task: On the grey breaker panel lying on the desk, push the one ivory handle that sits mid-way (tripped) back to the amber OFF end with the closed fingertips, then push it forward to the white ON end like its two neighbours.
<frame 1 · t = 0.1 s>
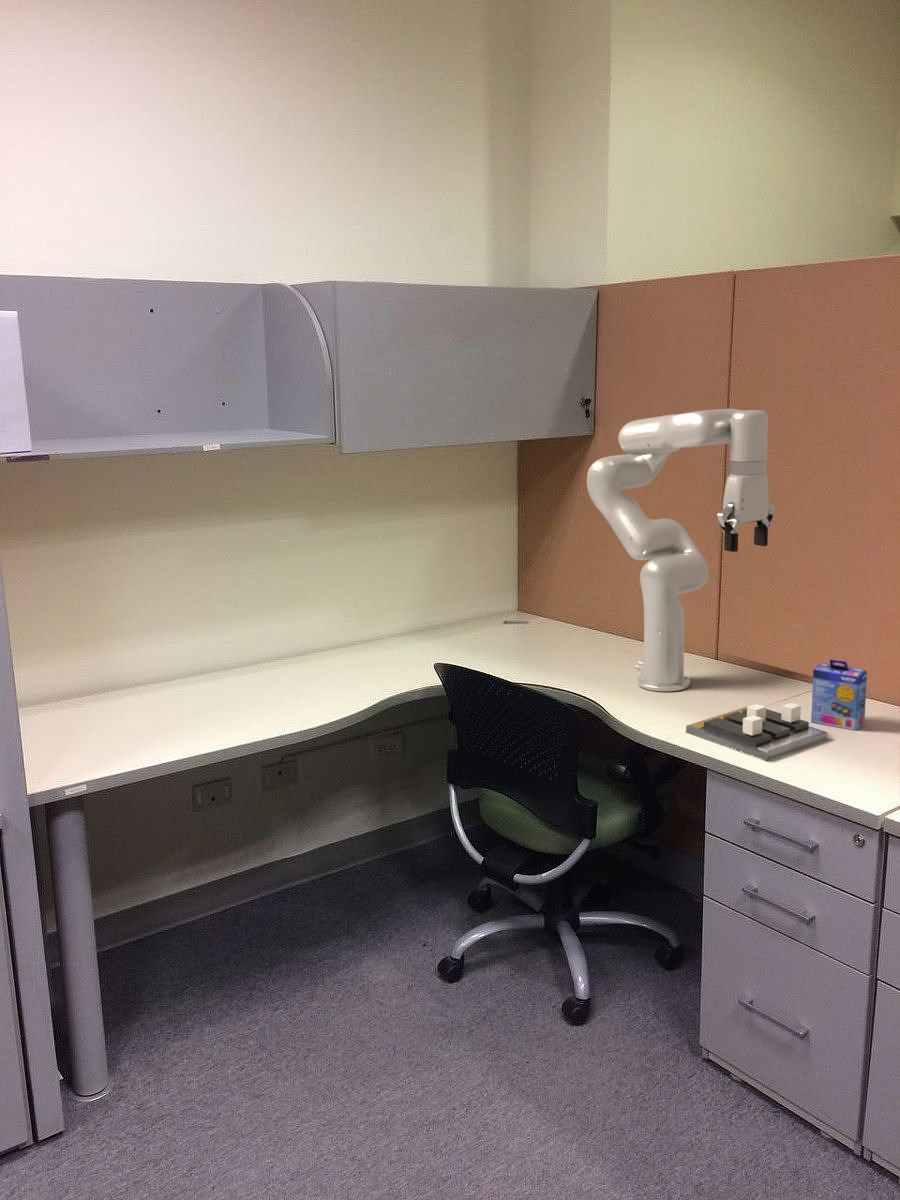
hand: (745, 548, 219), 37 cm above the table, tool pointing down, fingers open, 9 cm apart
ink cartridge box: (837, 724, 216), on the table
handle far: (791, 712, 209), point 5 cm above the table, slide at 4.0 cm
tripped handle: (756, 713, 209), point 5 cm above the table, slide at 0.0 cm
panel: (755, 735, 211), on the table
handle near: (752, 725, 203), point 5 cm above the table, slide at 4.0 cm
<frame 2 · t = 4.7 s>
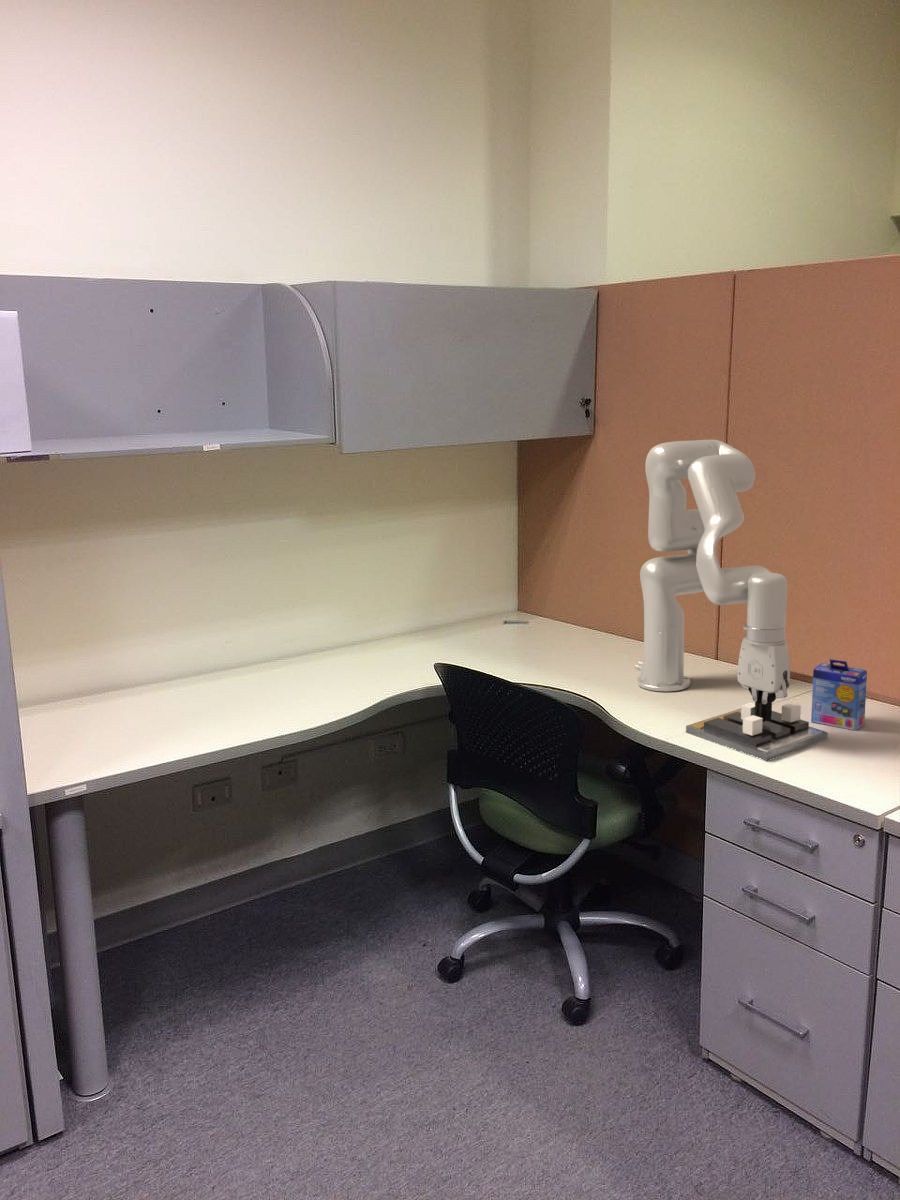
hand: (763, 719, 208), 4 cm above the table, tool pointing down, fingers closed
tripped handle: (750, 712, 211), point 5 cm above the table, slide at -1.5 cm, touching gripper
everything else where it was.
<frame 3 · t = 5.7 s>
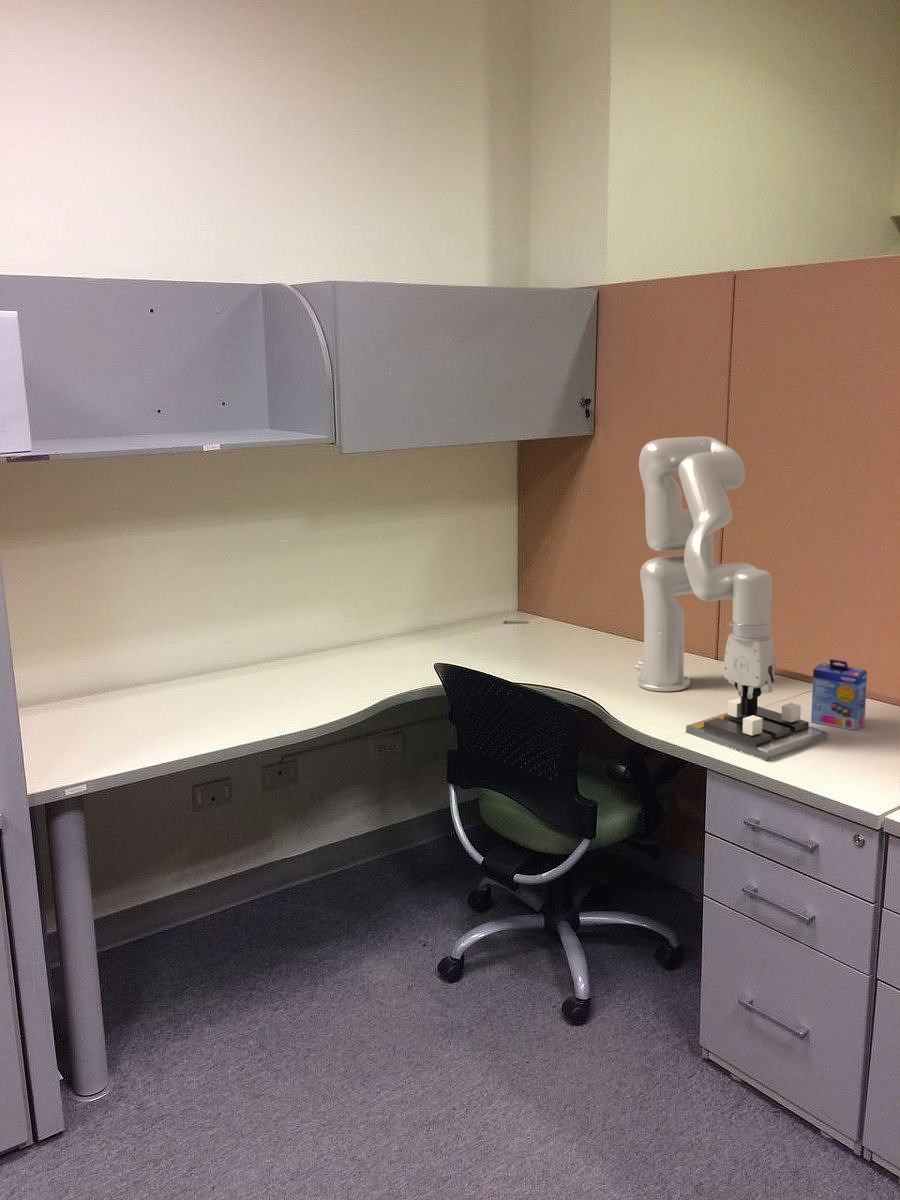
hand: (748, 714, 211), 4 cm above the table, tool pointing down, fingers closed
tripped handle: (737, 707, 214), point 5 cm above the table, slide at -5.0 cm, touching gripper
everything else where it was.
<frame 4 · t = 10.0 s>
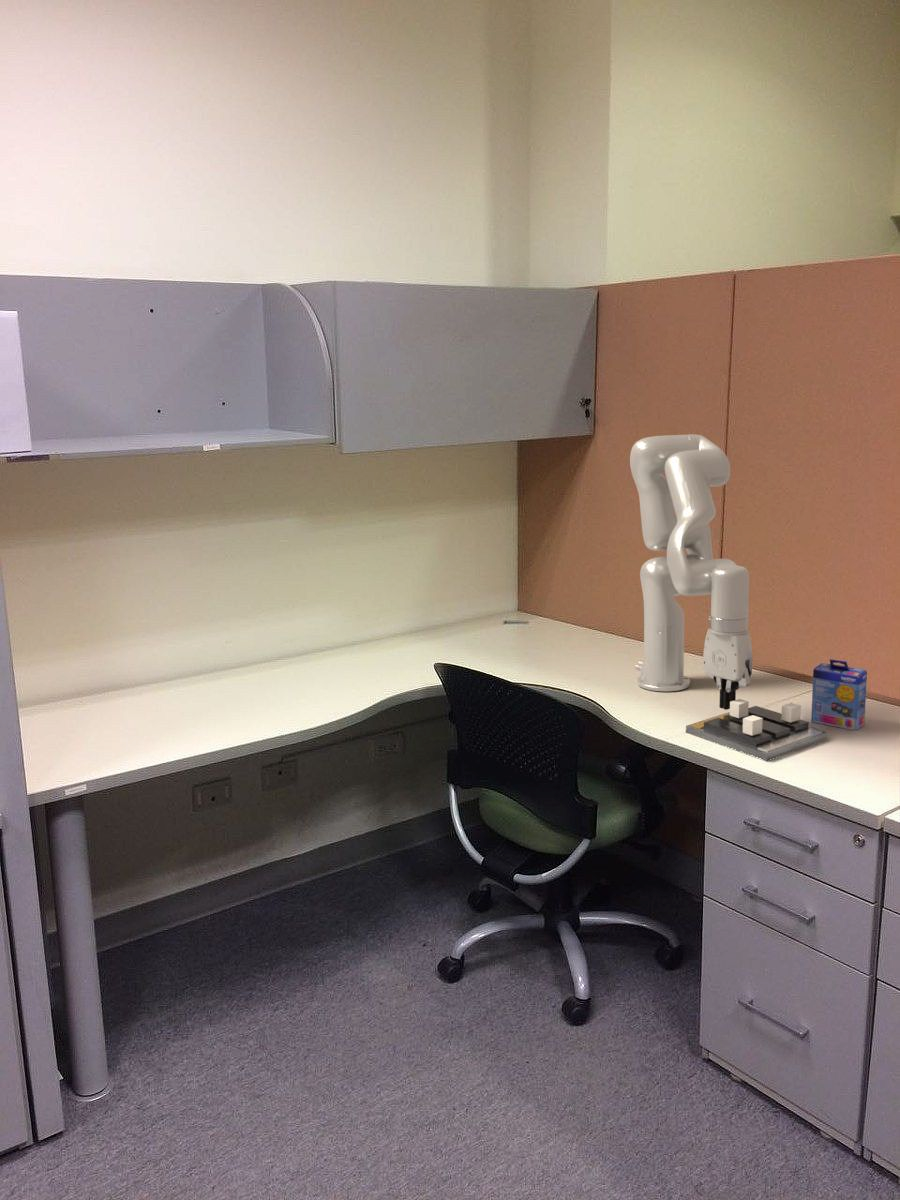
hand: (727, 707, 216), 4 cm above the table, tool pointing down, fingers closed
tripped handle: (739, 708, 213), point 5 cm above the table, slide at -4.5 cm, touching gripper
everything else where it was.
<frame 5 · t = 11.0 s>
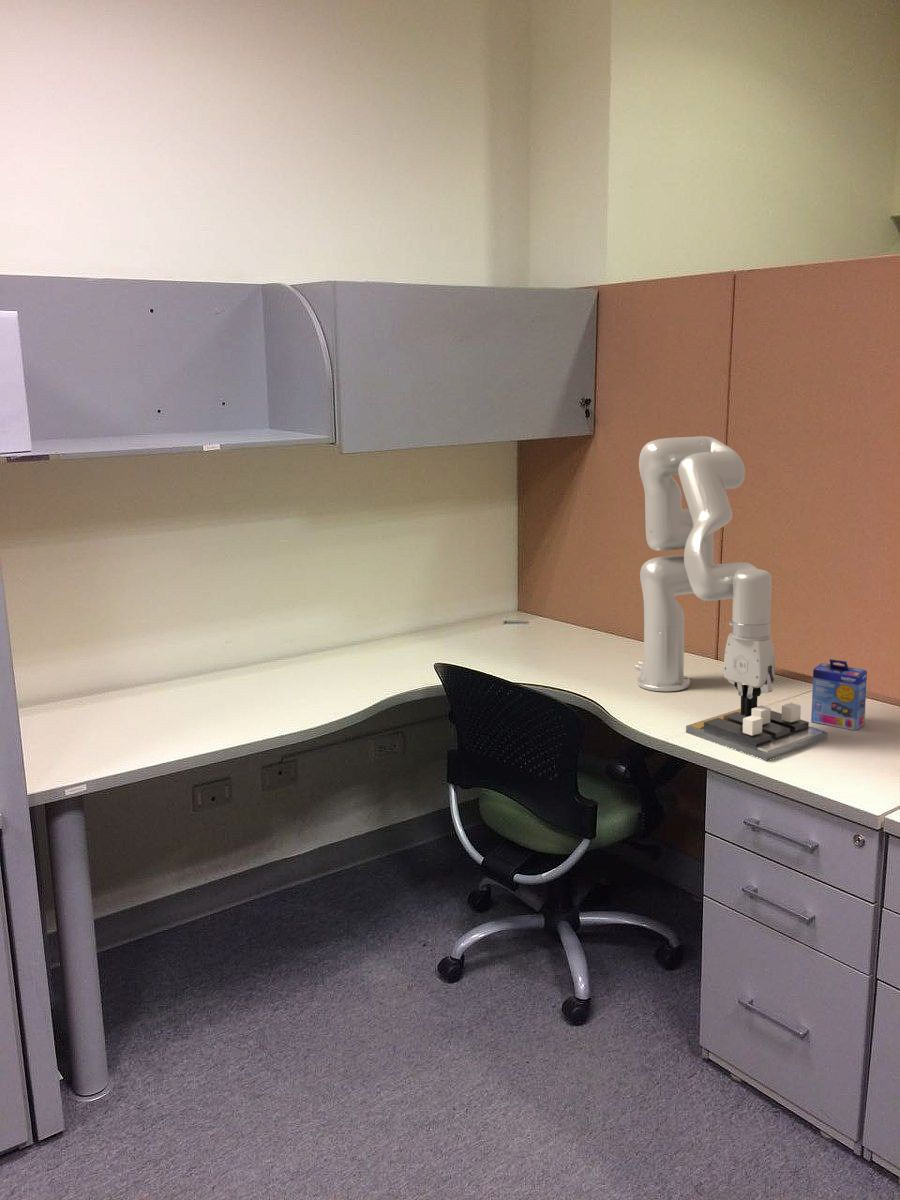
hand: (748, 714, 211), 4 cm above the table, tool pointing down, fingers closed
tripped handle: (760, 715, 209), point 5 cm above the table, slide at 1.2 cm, touching gripper
everything else where it was.
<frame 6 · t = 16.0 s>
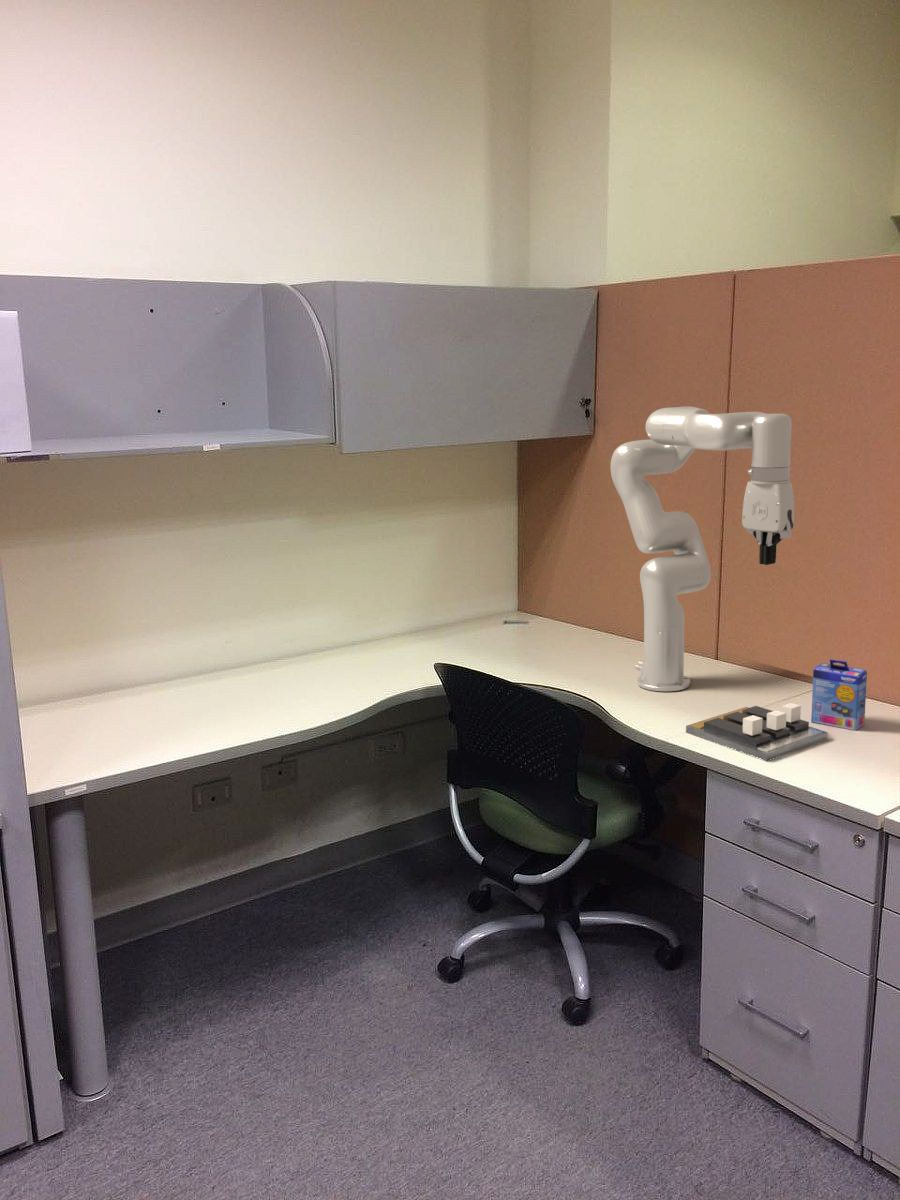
hand: (767, 563, 210), 35 cm above the table, tool pointing down, fingers closed
tripped handle: (776, 720, 205), point 5 cm above the table, slide at 5.1 cm
everything else where it was.
at the end: tripped handle slide at 5.1 cm; handle near slide at 4.0 cm; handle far slide at 4.0 cm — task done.
